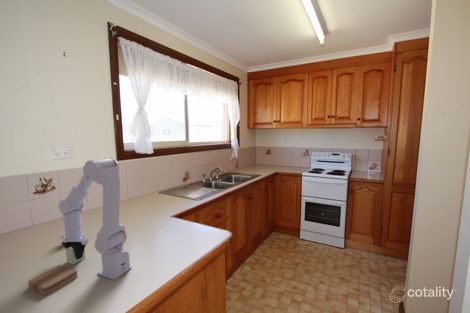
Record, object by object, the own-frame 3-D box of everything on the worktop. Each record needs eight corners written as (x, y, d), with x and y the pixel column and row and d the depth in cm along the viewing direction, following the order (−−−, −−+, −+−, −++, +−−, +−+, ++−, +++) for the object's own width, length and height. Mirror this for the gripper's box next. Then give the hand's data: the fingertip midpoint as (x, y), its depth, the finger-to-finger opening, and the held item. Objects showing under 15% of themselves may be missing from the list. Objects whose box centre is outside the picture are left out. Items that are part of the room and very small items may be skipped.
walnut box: (77, 278, 82) (76, 271, 81) (46, 297, 73) (45, 288, 72) (60, 272, 86) (60, 264, 85) (29, 289, 76) (28, 281, 76)
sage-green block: (85, 258, 94) (84, 244, 94) (73, 264, 90) (71, 250, 89) (79, 256, 96) (78, 243, 95) (66, 262, 91) (65, 248, 90)
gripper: (51, 227, 90) (54, 258, 92) (74, 233, 85) (77, 266, 86) (70, 221, 97) (72, 250, 98) (92, 226, 91) (94, 256, 93)
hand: (75, 257), depth 92 cm, fingers closed on sage-green block, 4 cm apart
